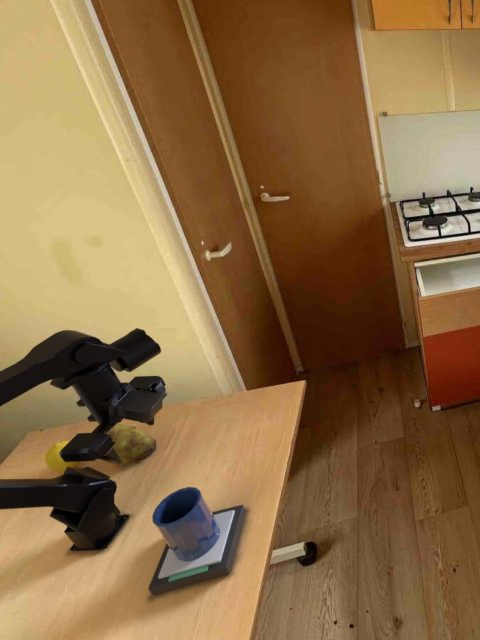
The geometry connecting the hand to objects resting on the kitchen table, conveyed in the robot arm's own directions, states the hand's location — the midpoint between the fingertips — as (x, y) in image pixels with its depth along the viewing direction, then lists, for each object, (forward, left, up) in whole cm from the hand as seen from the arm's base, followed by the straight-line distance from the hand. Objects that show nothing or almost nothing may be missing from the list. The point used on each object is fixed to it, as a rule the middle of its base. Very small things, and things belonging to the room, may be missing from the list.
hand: (135, 443), depth 87 cm
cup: (-14, -18, -10) cm, 25 cm away
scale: (-14, -18, -13) cm, 26 cm away
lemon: (+5, +22, -13) cm, 26 cm away
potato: (+8, +12, -13) cm, 19 cm away
